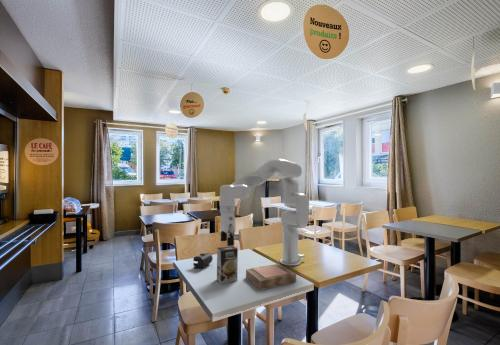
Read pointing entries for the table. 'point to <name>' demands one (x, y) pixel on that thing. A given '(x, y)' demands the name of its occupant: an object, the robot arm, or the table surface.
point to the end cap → (202, 260)
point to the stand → (270, 276)
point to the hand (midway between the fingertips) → (227, 243)
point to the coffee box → (227, 264)
